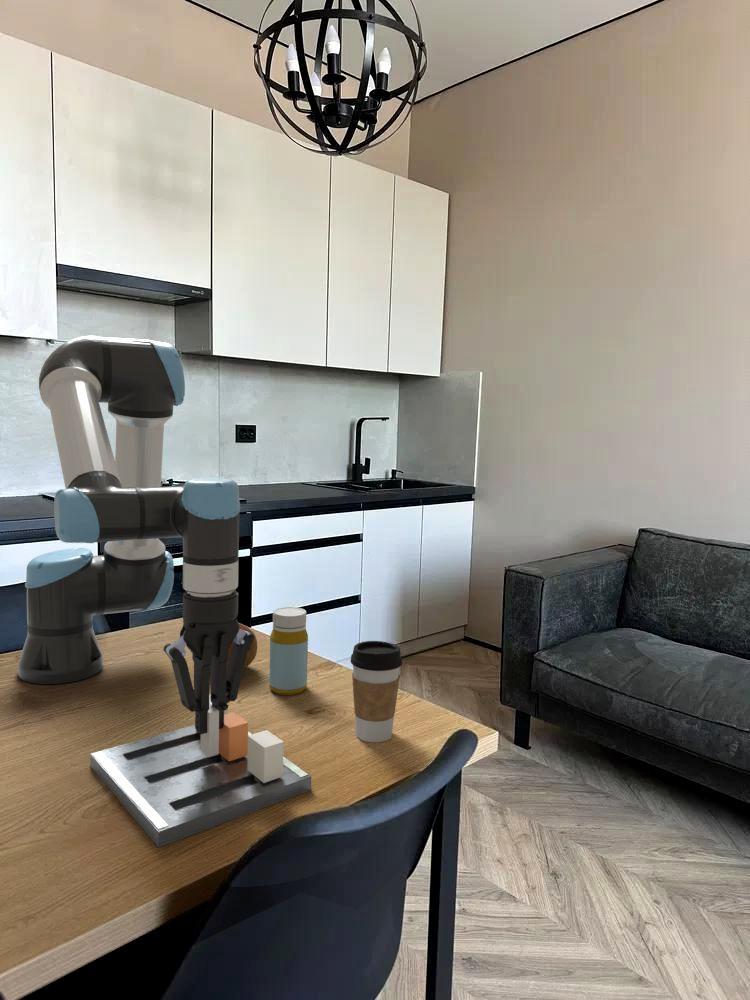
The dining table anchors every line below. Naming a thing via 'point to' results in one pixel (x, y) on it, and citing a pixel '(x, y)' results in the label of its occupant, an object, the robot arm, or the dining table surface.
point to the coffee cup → (375, 688)
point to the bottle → (288, 651)
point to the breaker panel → (187, 784)
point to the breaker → (265, 756)
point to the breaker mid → (233, 737)
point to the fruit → (251, 651)
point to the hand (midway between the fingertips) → (209, 751)
